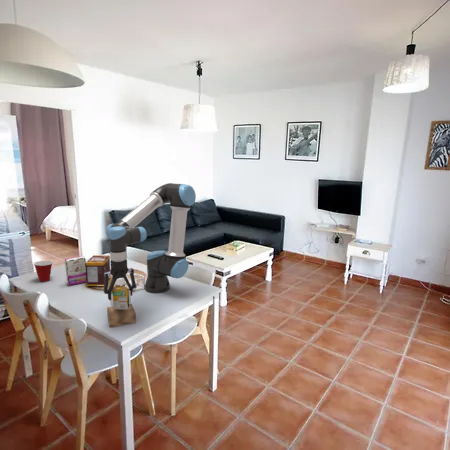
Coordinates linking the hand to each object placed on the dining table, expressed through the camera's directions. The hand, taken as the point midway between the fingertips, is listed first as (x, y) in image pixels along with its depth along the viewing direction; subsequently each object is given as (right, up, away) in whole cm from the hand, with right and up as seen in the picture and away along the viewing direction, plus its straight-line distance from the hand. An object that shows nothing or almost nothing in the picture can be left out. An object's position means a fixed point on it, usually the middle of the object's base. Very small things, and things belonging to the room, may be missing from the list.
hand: (120, 303), depth 155 cm
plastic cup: (-65, +3, +48) cm, 81 cm away
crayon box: (0, -2, +1) cm, 2 cm away
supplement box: (-29, +2, +47) cm, 55 cm away
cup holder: (-8, 0, +41) cm, 42 cm away
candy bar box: (-42, +2, +45) cm, 62 cm away
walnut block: (0, -8, +2) cm, 8 cm away
